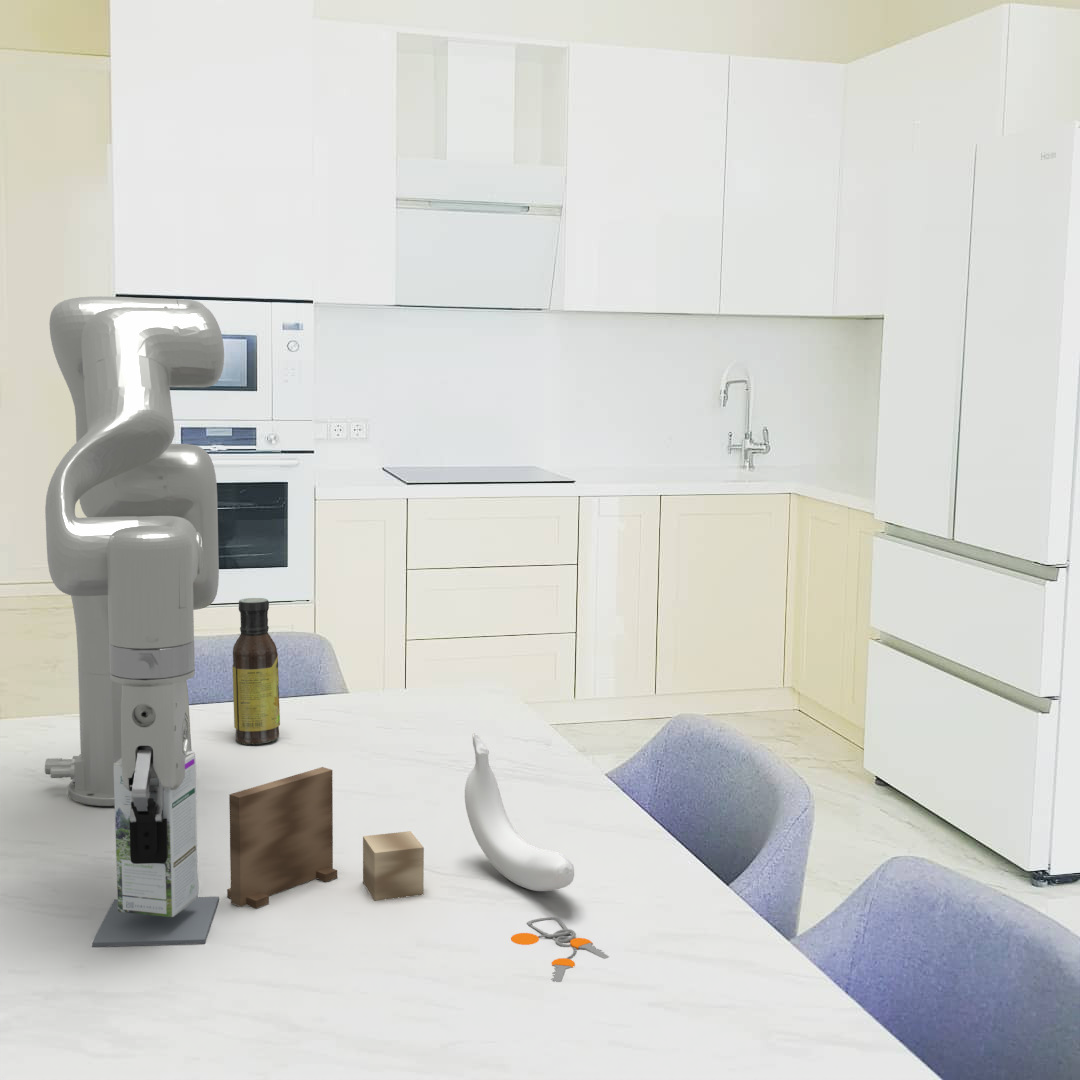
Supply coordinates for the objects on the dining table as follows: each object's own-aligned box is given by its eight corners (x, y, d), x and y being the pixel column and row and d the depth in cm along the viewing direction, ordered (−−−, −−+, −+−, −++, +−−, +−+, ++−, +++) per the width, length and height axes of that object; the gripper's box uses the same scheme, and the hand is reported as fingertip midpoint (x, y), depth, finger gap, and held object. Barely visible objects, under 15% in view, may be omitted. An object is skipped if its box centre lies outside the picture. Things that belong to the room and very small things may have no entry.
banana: (559, 922, 130) (561, 774, 128) (449, 862, 145) (450, 728, 143) (598, 910, 132) (601, 765, 131) (487, 852, 147) (488, 721, 146)
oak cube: (374, 901, 134) (374, 853, 133) (363, 883, 139) (362, 836, 138) (423, 895, 136) (423, 847, 135) (410, 877, 140) (410, 831, 140)
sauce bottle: (288, 740, 189) (287, 600, 187) (249, 749, 185) (248, 605, 182) (263, 731, 194) (261, 594, 191) (224, 739, 189) (222, 599, 187)
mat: (92, 946, 122) (91, 942, 122) (114, 903, 132) (114, 899, 132) (205, 943, 124) (204, 939, 123) (219, 900, 133) (219, 896, 133)
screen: (250, 910, 131) (248, 800, 130) (221, 899, 134) (219, 791, 132) (342, 875, 140) (342, 772, 139) (313, 865, 143) (313, 764, 142)
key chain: (494, 930, 128) (494, 921, 128) (564, 918, 131) (564, 910, 131) (550, 987, 117) (550, 978, 117) (625, 973, 120) (625, 963, 120)
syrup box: (200, 896, 130) (198, 748, 128) (172, 920, 124) (169, 766, 122) (145, 891, 131) (142, 744, 129) (114, 914, 125) (110, 761, 123)
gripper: (179, 682, 116) (183, 881, 119) (207, 641, 134) (210, 816, 136) (89, 683, 116) (95, 883, 118) (128, 642, 133) (133, 817, 135)
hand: (156, 845), depth 127 cm, fingers closed on syrup box, 7 cm apart
